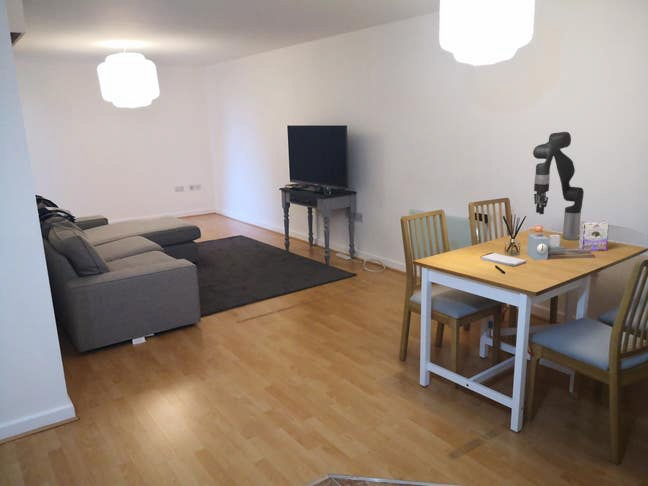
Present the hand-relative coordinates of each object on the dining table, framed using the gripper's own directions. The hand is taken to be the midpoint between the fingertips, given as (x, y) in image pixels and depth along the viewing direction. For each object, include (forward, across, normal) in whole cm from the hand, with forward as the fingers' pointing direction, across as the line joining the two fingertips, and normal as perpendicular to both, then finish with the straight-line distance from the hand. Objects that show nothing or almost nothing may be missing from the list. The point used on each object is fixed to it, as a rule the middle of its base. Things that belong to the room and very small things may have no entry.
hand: (539, 213), depth 277 cm
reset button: (+10, 0, 0) cm, 10 cm away
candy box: (+26, -12, +37) cm, 47 cm away
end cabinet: (+25, 0, 0) cm, 25 cm away
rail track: (+25, 0, +17) cm, 30 cm away
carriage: (+21, 0, +9) cm, 23 cm away
